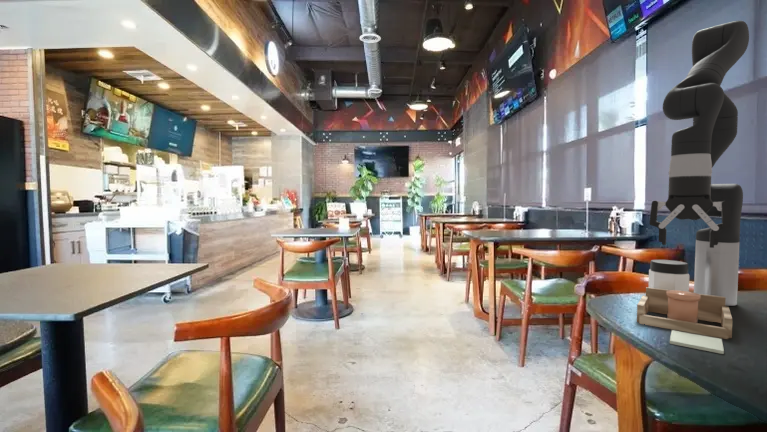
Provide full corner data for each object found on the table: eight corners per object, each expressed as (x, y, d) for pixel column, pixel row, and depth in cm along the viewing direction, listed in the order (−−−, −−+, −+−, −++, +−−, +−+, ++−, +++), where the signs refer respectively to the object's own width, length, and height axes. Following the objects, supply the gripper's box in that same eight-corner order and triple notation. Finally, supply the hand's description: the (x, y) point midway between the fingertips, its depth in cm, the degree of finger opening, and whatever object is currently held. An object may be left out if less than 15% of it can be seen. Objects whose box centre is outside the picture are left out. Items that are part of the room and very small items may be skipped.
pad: (671, 332, 81) (671, 330, 81) (721, 341, 76) (721, 338, 76) (669, 343, 75) (669, 340, 75) (723, 354, 70) (723, 351, 70)
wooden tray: (642, 309, 99) (643, 286, 98) (727, 322, 88) (728, 297, 88) (636, 323, 88) (636, 297, 87) (732, 340, 77) (733, 311, 77)
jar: (692, 306, 102) (693, 262, 101) (683, 312, 96) (685, 265, 96) (652, 299, 108) (654, 258, 108) (643, 304, 103) (644, 261, 103)
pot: (666, 317, 92) (667, 288, 92) (699, 322, 88) (700, 293, 88) (664, 323, 87) (665, 293, 87) (699, 329, 83) (700, 298, 83)
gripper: (730, 174, 84) (727, 246, 85) (652, 177, 93) (650, 242, 94) (733, 173, 79) (730, 250, 79) (650, 175, 88) (647, 245, 88)
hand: (686, 245), depth 87 cm, fingers open, 8 cm apart
